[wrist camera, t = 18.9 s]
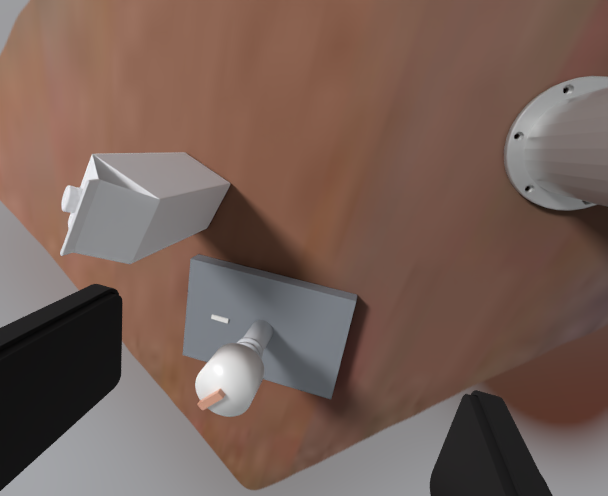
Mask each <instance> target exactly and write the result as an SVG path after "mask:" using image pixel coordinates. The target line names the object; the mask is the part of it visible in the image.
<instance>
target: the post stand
mask: <svg viewBox="0 0 608 496" xmlns="http://www.w3.org/2000/svg"><path fill="white" fill-rule="evenodd" d="M356 300H357V295H356V294H352V293H349V292H345V291H341V290H337V289H333V288H329V287H325V286H321V285H317V284H313V283H309V282H305V281H301V280H298V279H294V278H290V277H286V276H282V275H278V274H274V273H270V272H266V271H262V270H258V269H254V268H250V267H246V266H243V265H239V264H235V263H231V262H227V261H223V260H219V259H215V258H211V257H207V256H203V255H199V254H198V255H196V256H194V257H193V258H191V262H190V274H189V286H188V298H187V310H186V322H185V334H184V346H183V355H185V356H189V357H192V358H195V359H199V360H202V361H205V362H208V361H209V360H210V359H211V358H212V356H213V355H214V354H215V353H216V351H217V350H218V349H219V348H220V347H222V346H223V345H226V344H229V343H239V344H243V345H245V346H248V347H249V348H251V349H252V350H254V351H255V352H256V353H257V354H258V355H259V357H260V358H261V360H262V362H263V365H264V370H265V372H264V378H263V379H265V380H268V381H271V382H275V383H278V384H281V385H285V386H288V387H291V388H295V389H298V390H301V391H305V392H308V393H311V394H315V395H318V396H321V397H324V398H328V399H331V398H332V394H333V390H334V386H335V383H336V379H337V375H338V371H339V367H340V363H341V359H342V355H343V351H344V347H345V343H346V340H347V336H348V332H349V328H350V324H351V320H352V316H353V312H354V308H355V304H356Z"/></svg>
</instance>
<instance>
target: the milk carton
mask: <svg viewBox="0 0 608 496" xmlns="http://www.w3.org/2000/svg"><path fill="white" fill-rule="evenodd" d="M229 187H230V183H229V182H228V181H226V180H225V179H223V178H222V177H220V176H219V175H218V174H216V173H215V172H213V171H212V170H210V169H209V168H207V167H206V166H204V165H203V164H201V163H200V162H198V161H197V160H195V159H194V158H192V157H191V156H189V155H188V154H186V153H185V152H174V153H108V154H92V156H91V159H90V161H89V164H88V167H87V170H86V172H85V175H84V178H83V181H82V184H81V186H80V188H77V187H74V186H70V185H69V186H67V187H66V189H65V192H64V195H63V199H62V210H63V211H64V212H71V214H70V217H69V221H68V228H69V230H68V233H67V236H66V239H65V241H64V244H63V247H62V250H61V252H60V255H61V256H63V255H66V254H69V253H72V252H73V253H78V254H83V255H88V256H93V257H98V258H102V259H107V260H112V261H117V262H122V263H127V264H131V263H133V262H136V261H138V260H140V259H142V258H144V257H146V256H149V255H151V254H153V253H155V252H157V251H159V250H161V249H164V248H166V247H168V246H170V245H172V244H174V243H177V242H179V241H181V240H183V239H185V238H187V237H190V236H192V235H194V234H196V233H198V232H200V231H203V230H205V229H207V228H208V226H209V224H210V222H211V221H212V219H213V217H214V215H215V213H216V211H217V209H218V207H219V206H220V204H221V202H222V200H223V198H224V196H225V194H226V192H227V191H228V189H229Z"/></svg>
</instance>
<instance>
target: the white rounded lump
mask: <svg viewBox="0 0 608 496" xmlns="http://www.w3.org/2000/svg"><path fill="white" fill-rule="evenodd" d="M264 372H265V370H264V365H263V362H262V360H261V358H260V357H259V355H258V354H257V353H256V352H255V351H254V350H252V349H251V348H249V347H248V346H245V345H243V344H239V343H229V344H226V345H223V346H222V347H220V348H219V349H218V350H217V351H216V353H215V354H214V355H213V356H212V358H211V359H210V360H209V361H208V363H207V364H206V365H205V366H204V368H203V369H202V370H201V371H200V373H199V374H198V376H197V378H196V383H195V387H196V392H197V395H198V397H199V399H200V401H199V403H198V404H197V405H198V406H199V407H200V408H201V409H202V410H204V409H206V408H208V409H209V410H211V411H212V412H214V413H216V414H219V415H222V416H228V417H233V416H238V415H240V414H242V413H244V412H245V411H246V410H247V409H248V408H249V406H250V404H251V402H252V400H253V398H254V396H255V394H256V392H257V390H258V388H259V386H260V384H261V382H262V380H263V378H264Z"/></svg>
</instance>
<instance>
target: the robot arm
mask: <svg viewBox="0 0 608 496" xmlns="http://www.w3.org/2000/svg"><path fill="white" fill-rule="evenodd" d="M563 88H565V89H566V92H565V93H564V92H563ZM515 134H517V135H518V138H517V139H514V135H515ZM504 164H505V169H506V173H507V176H508V178H509V180H510V182H511V184H512V185H513V186H514V188H515V189H516V190H517V192H518V193H520V194H521V195H522V196H523V197H524V198H526V199H527V200H529V201H531V202H533V203H535V204H537V205H540V206H543V207H545V208H550V209H555V210H578V209H585V208H588V207H592V206H595V205H602V206H606V207H608V77H603V76H588V77H580V78H575V79H572V80H569V81H565V82H563V83H560V84H558V85H555V86H553V87H551V88H549V89H548V90H546V91H544V92H542V93H541V94H539V95H538V96H537V97H535V98H534V99H533V100H532V101H531V102H529V103H528V104H527V105H526V106H525V108H524V109H523V110H522V111H521V112H520V113H519V114H518V116H517V118H516V119H515V121H514V122H513V124H512V126H511V128H510V130H509V133H508V135H507V138H506V143H505V148H504ZM526 186H528V187H529V189H528V190H526V191H525V188H526ZM121 345H122V298H121V296H119V293H118V291H117V290H116V289H113V288H110V287H106V286H103V285H99V284H93V285H90V286H88V287H86V288H84V289H82V290H80V291H78V292H75V293H73V294H71V295H69V296H67V297H65V298H63V299H61V300H59V301H56V302H54V303H52V304H50V305H48V306H46V307H44V308H42V309H40V310H38V311H36V312H33V313H31V314H29V315H27V316H25V317H23V318H21V319H18V320H16V321H14V322H12V323H10V324H8V325H6V326H4V327H1V328H0V491H1V490H2V489H3V488H4V487H5V486H6V485H8V484H9V483H10V482H11V481H12V480H13V479H14V478H15V477H16V476H17V475H19V474H20V473H21V472H22V471H23V470H24V469H25V468H26V467H27V466H28V465H30V464H31V463H32V462H33V461H34V460H35V459H36V458H37V457H38V456H40V455H41V454H42V453H43V452H44V451H45V450H46V449H47V448H48V447H50V446H51V445H52V444H53V443H54V442H55V441H56V440H57V439H58V438H59V437H61V436H62V435H63V434H64V433H65V432H66V431H67V430H68V429H69V428H70V427H72V426H73V425H74V424H75V423H76V422H77V421H78V420H79V419H80V418H82V417H83V416H84V415H85V414H86V413H87V412H88V411H89V410H90V409H91V408H93V407H94V406H95V405H96V404H97V403H98V402H99V401H100V400H101V399H103V398H104V397H105V396H106V395H107V394H108V393H109V392H110V391H111V390H113V389H114V388H115V386H116V385H117V384H118V382H119V380H120V377H121V349H122V346H121ZM430 494H431V496H552V494H551V492H550V490H549V488H548V486H547V484H546V482H545V480H544V478H543V477H542V475H541V474H540V472H539V470H538V469H537V466H536V465H535V462H534V460H533V458H532V456H531V454H530V452H529V450H528V448H527V446H526V444H525V442H524V440H523V438H522V436H521V434H520V432H519V430H518V428H517V426H516V424H515V422H514V420H513V418H512V416H511V414H510V412H509V410H508V408H507V406H506V404H505V402H504V401H503V399H502V398H500V397H498V396H495V395H491V394H488V393H484V392H480V391H477V390H476V391H473V392H472V394H471V395H468V394H465V395H464V396H463V397H462V400H461V402H460V405H459V407H458V409H457V412H456V415H455V417H454V420H453V422H452V425H451V427H450V429H449V432H448V434H447V437H446V439H445V442H444V444H443V447H442V449H441V452H440V454H439V457H438V459H437V462H436V464H435V467H434V469H433V471H432V474H431V479H430Z"/></svg>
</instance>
